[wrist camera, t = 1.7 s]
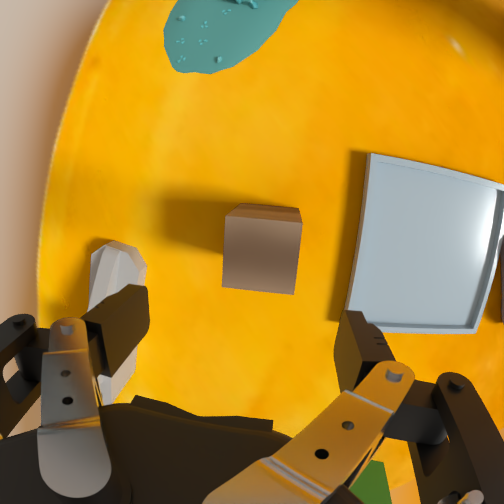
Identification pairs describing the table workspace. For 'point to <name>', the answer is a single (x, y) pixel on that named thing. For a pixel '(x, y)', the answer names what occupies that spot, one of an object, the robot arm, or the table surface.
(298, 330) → the table surface
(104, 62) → the table surface
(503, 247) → the stone block
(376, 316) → the dish
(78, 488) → the robot arm
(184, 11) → the diorama
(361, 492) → the hardback book
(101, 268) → the sloped support bracket
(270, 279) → the walnut block
